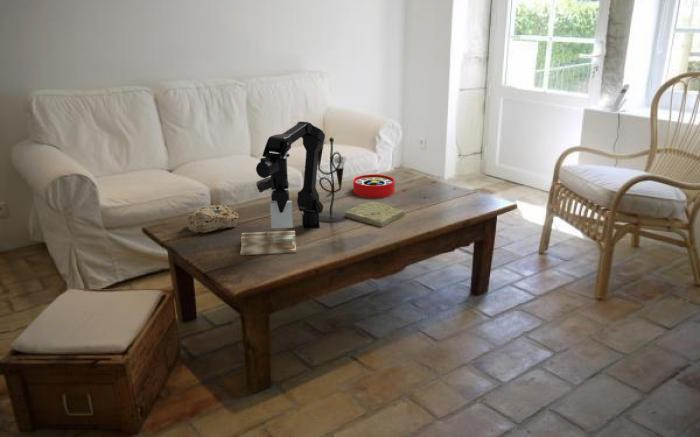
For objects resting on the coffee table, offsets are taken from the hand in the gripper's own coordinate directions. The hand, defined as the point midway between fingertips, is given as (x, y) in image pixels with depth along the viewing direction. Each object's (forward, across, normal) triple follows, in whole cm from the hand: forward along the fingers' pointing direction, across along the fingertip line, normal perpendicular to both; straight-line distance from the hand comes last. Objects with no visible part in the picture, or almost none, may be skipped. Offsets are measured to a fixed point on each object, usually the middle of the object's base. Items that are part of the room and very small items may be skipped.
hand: (281, 211), depth 214 cm
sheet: (+6, 0, 0) cm, 6 cm away
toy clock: (+13, -61, +44) cm, 76 cm away
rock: (+13, -21, -28) cm, 37 cm away
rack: (+13, +2, -5) cm, 14 cm away
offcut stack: (+12, +5, 0) cm, 13 cm away
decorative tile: (+14, -26, +40) cm, 49 cm away
